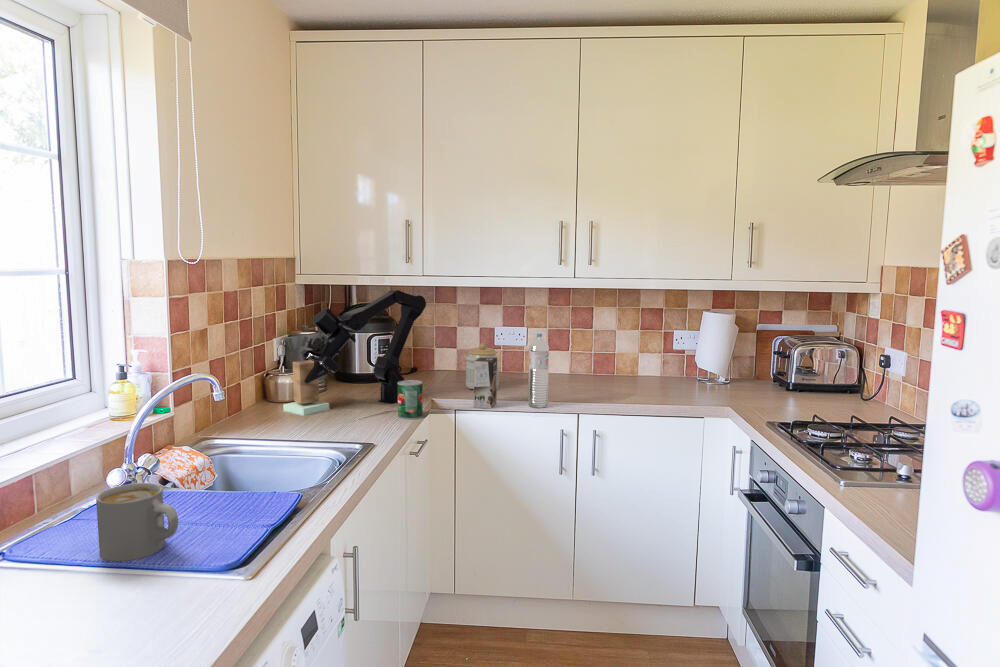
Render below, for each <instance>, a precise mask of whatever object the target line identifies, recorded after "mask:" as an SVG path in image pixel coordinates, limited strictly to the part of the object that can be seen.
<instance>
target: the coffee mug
mask: <svg viewBox="0 0 1000 667" xmlns="http://www.w3.org/2000/svg"><path fill="white" fill-rule="evenodd" d="M163 494H164V493H163V487H162V485H160V484H157V483H153V482H135V483H128V484H127V483H126V484H122V485H117V486H114V487H110V488H108V489H106V490H104V491H101V492H100V493H98V495H97V496H96V499H95V502H96V503H95V504H96V519H97V530H98V532H97V533H98V545H99V546H98V548H99V549H98V550H99V551H98V552H99V557H100V558H101V559H103V560H105V561H108V562H126V561H127V562H128V561H135V560H138V559H143V558H145V557H149V556H151V555H154V554H156V553H157V552H158V551H160V550H162V549H163V547H165V545H166V540H167V539H169V538H171V537H173V536H174V535H175V534H176V532H177V531H178V527H179V516H178V512H177V510H176V508H175V507H173V506H172V505H170V504H169V503H168V504H167V503H164V495H163ZM165 516H166V518H167V522H168V523H167V524H168V525H167V528H166V527H165Z"/></svg>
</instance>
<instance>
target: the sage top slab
mask: <svg viewBox="0 0 1000 667" xmlns="http://www.w3.org/2000/svg"><path fill="white" fill-rule="evenodd" d="M282 406H283V410H282V412H283V411H287V412H291V413H296V414H300V415H307V414H311V413H316V412H320V411H324V412H326V411H325V410H328V411H330V410H329V409H330V403H329V402H325V401H320V400H319V401H318V402H311V403H304V404H300V403H298V402H296V401H294V402H289V403H283V405H282ZM287 412H286V413H287ZM291 413H290V414H291ZM320 413H321V412H320ZM296 414H295V415H296ZM316 414H317V413H316ZM300 415H299V416H300ZM311 415H312V414H311ZM307 416H308V415H307Z"/></svg>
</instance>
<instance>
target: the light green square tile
mask: <svg viewBox="0 0 1000 667" xmlns="http://www.w3.org/2000/svg"><path fill="white" fill-rule="evenodd" d="M331 410H332V408H329V410H325V411H320V412H316V413H311V414H307V415H300V414H296V413H291V412H287V411H283V410H282V412H284V413H287V414H292V415H296V416H301V417H306V416H311V415H315V414H319V413H323V412H328V411H331Z"/></svg>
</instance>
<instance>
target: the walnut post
mask: <svg viewBox="0 0 1000 667" xmlns="http://www.w3.org/2000/svg"><path fill="white" fill-rule="evenodd" d="M313 367H314V361H312V360H307V361H303V360H298V361H292V380H293V382H292V383H293V401H294V402H298V403H300V404H304V403H311V402H318V401H320V388H319V387H320V381H319V378H320V377H319V378H317V379H315V380H313V381H311V382H309V383H306V382H305V379H306V377H307V376H308V375H309V373H310V372H311V370H312V369H313Z"/></svg>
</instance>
